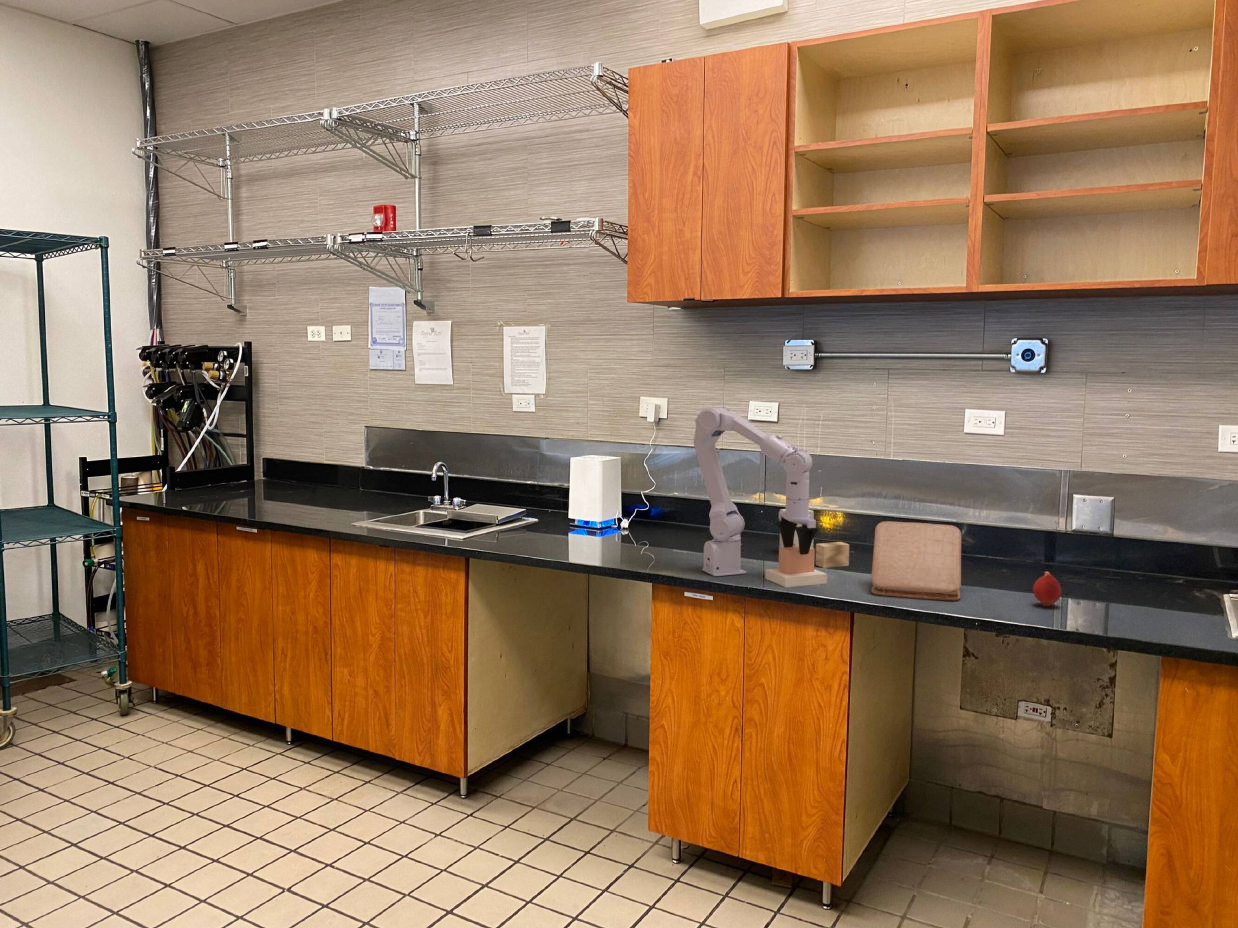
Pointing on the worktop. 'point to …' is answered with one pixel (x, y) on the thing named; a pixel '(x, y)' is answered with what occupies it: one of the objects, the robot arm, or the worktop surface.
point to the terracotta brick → (795, 560)
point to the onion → (1047, 589)
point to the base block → (796, 578)
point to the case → (917, 561)
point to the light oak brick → (832, 554)
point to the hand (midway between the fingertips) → (796, 551)
